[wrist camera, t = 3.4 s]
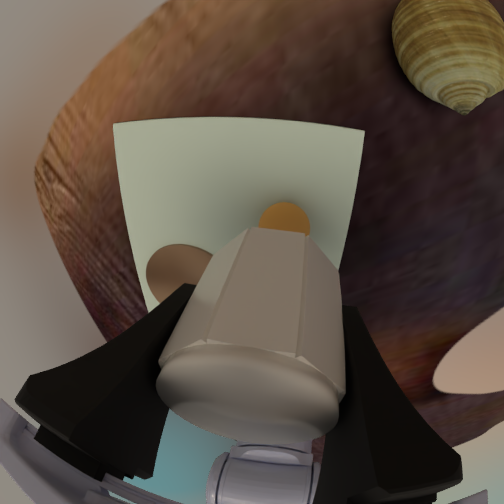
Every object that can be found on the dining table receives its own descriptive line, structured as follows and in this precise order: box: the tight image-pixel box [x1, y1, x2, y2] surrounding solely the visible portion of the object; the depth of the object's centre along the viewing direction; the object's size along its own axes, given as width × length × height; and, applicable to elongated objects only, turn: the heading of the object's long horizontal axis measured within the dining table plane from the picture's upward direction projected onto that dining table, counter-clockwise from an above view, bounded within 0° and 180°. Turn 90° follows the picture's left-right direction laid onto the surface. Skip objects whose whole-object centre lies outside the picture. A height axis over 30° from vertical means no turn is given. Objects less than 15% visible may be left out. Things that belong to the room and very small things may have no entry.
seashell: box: [392, 0, 504, 115], centre depth 8 cm, size 10×7×8 cm
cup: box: [156, 227, 346, 444], centre depth 9 cm, size 5×5×6 cm
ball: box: [258, 202, 310, 237], centre depth 16 cm, size 3×3×3 cm
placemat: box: [113, 117, 365, 312], centre depth 20 cm, size 20×16×1 cm
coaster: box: [146, 244, 213, 303], centre depth 22 cm, size 8×8×1 cm
